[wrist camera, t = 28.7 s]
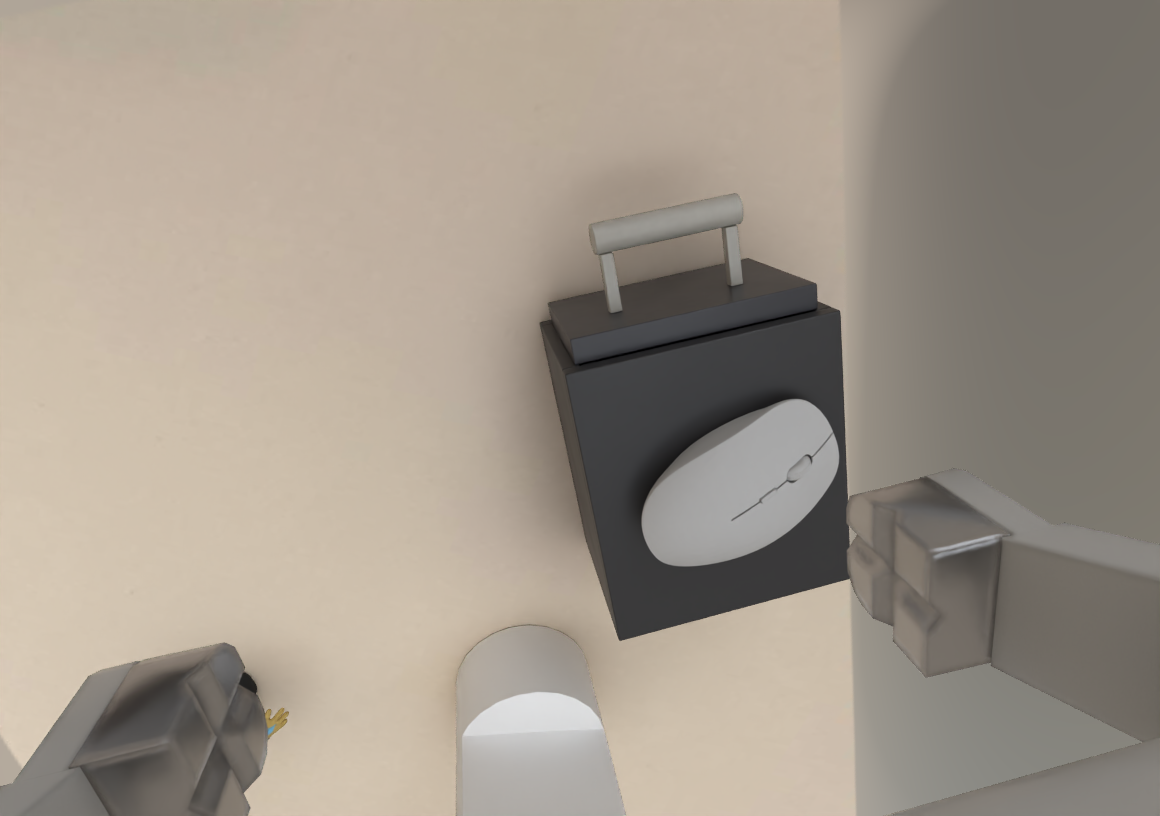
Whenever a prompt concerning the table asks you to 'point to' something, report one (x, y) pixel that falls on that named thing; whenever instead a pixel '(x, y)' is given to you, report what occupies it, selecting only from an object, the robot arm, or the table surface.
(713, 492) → the computer mouse
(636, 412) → the cabinet
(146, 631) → the table surface
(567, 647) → the base with upright slab
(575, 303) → the drawer
